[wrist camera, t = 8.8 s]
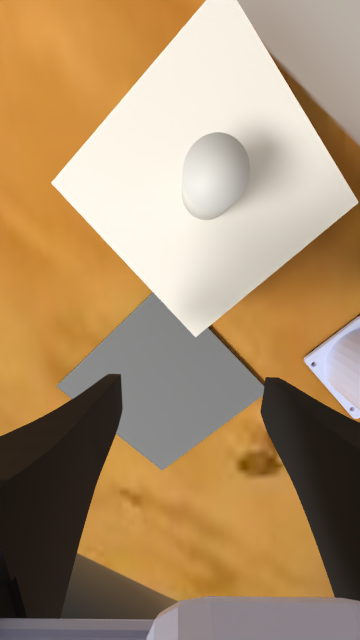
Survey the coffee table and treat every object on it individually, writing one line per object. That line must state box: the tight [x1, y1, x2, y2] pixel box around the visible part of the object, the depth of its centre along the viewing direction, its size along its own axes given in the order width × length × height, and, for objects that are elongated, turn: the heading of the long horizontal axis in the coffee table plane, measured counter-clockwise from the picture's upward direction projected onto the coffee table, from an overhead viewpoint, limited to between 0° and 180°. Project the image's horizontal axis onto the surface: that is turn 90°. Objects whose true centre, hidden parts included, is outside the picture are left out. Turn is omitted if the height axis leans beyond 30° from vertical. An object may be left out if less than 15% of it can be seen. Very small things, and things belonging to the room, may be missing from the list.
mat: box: [56, 293, 265, 470], centre depth 23 cm, size 15×15×1 cm
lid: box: [52, 0, 359, 337], centre depth 12 cm, size 13×13×4 cm
